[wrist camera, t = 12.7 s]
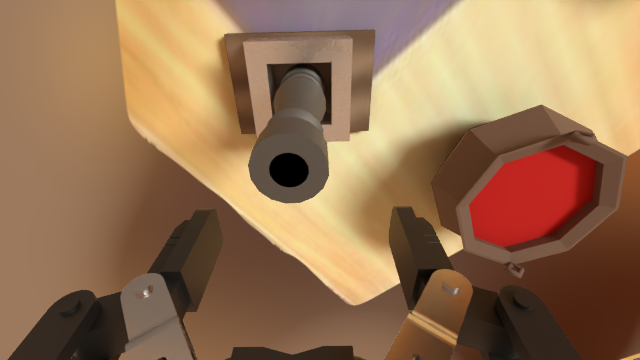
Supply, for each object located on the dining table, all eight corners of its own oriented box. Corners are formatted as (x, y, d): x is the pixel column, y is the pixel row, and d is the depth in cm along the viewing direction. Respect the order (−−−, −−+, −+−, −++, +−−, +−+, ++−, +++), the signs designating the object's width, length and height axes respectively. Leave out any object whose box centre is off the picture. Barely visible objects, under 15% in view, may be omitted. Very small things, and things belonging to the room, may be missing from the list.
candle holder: (333, 90, 42) (350, 178, 21) (299, 115, 44) (283, 219, 22) (306, 53, 39) (295, 110, 18) (272, 81, 41) (225, 162, 20)
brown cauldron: (431, 90, 44) (486, 129, 30) (588, 91, 44) (714, 131, 30) (405, 215, 56) (435, 285, 42) (527, 215, 56) (597, 285, 42)
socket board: (227, 33, 39) (224, 34, 38) (373, 29, 39) (375, 30, 38) (243, 130, 47) (241, 133, 45) (367, 127, 47) (368, 130, 45)
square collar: (251, 38, 38) (242, 42, 34) (348, 35, 38) (352, 39, 34) (263, 130, 45) (257, 143, 41) (346, 128, 45) (349, 140, 41)
